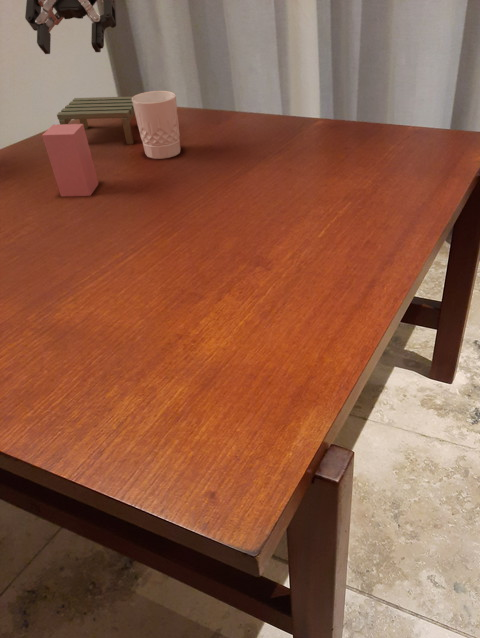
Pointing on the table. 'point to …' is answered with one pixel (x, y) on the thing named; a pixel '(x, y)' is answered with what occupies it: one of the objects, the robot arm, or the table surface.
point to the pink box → (71, 159)
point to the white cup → (158, 123)
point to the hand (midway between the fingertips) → (70, 50)
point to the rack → (100, 111)
